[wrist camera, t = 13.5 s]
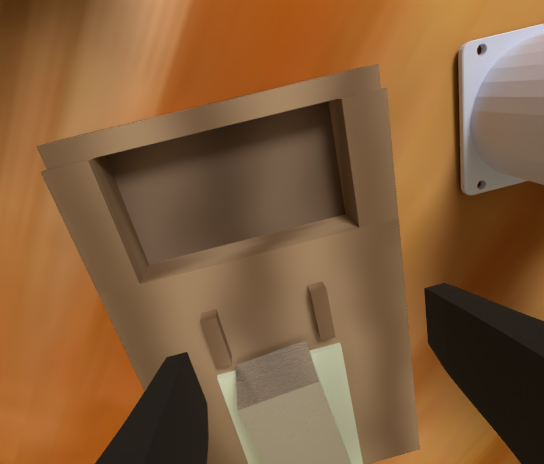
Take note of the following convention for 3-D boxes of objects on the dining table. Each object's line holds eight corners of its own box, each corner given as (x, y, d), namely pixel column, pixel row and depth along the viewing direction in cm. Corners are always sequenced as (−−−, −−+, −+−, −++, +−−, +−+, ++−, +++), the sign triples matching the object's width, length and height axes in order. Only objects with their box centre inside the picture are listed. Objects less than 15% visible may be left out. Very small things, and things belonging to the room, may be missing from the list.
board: (359, 67, 18) (392, 61, 14) (399, 412, 27) (426, 460, 23) (60, 139, 17) (18, 151, 14) (203, 466, 26) (200, 524, 23)
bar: (305, 339, 19) (319, 381, 16) (353, 467, 23) (370, 518, 21) (235, 365, 19) (237, 410, 16) (295, 488, 23) (305, 541, 21)
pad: (339, 342, 20) (341, 346, 20) (362, 465, 24) (364, 469, 24) (217, 375, 20) (217, 379, 19) (260, 493, 24) (261, 498, 23)
